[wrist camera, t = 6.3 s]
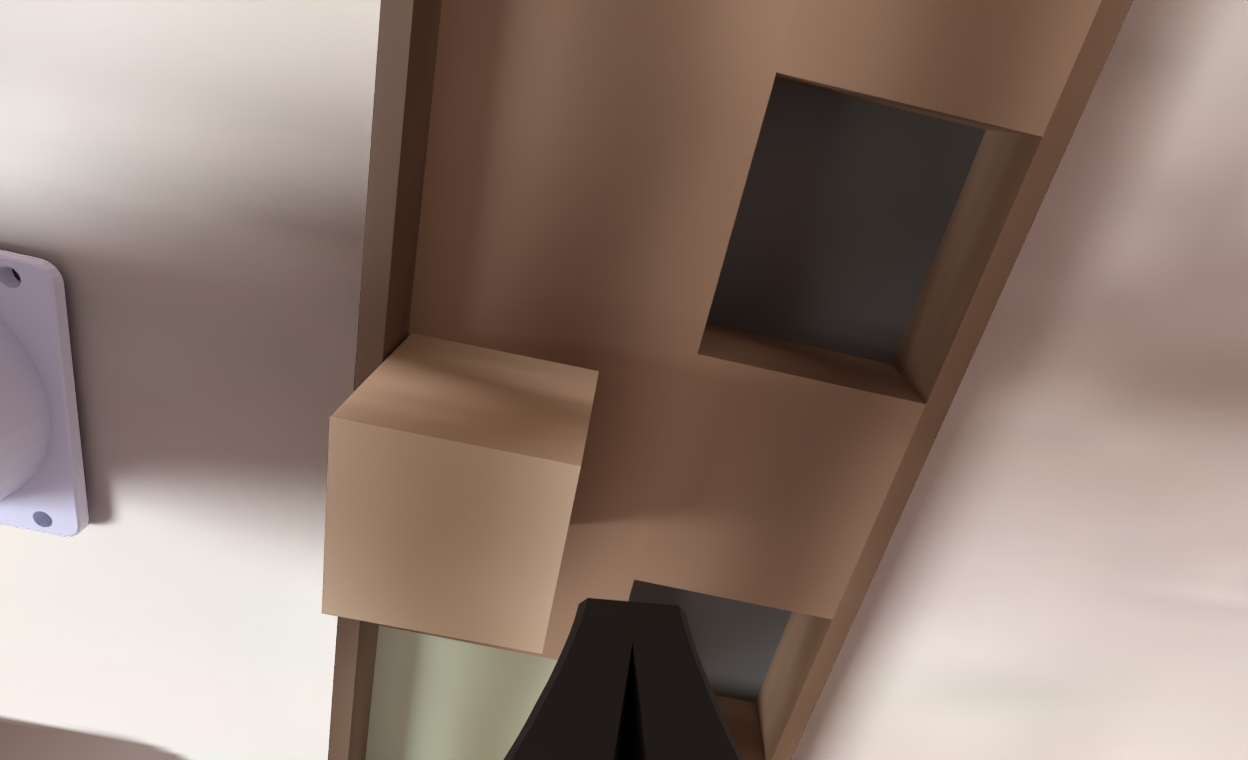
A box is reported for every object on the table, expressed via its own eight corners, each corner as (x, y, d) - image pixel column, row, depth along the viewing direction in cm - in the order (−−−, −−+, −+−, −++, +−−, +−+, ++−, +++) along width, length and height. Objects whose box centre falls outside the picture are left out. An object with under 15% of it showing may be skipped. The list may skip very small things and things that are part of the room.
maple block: (397, 492, 16) (321, 613, 12) (411, 332, 14) (329, 417, 11) (567, 525, 16) (542, 654, 12) (599, 371, 15) (581, 466, 11)
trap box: (375, 729, 23) (321, 854, 19) (482, -275, 12) (410, -426, 9) (730, 796, 23) (745, 930, 19) (1105, -111, 13) (1282, -188, 9)
